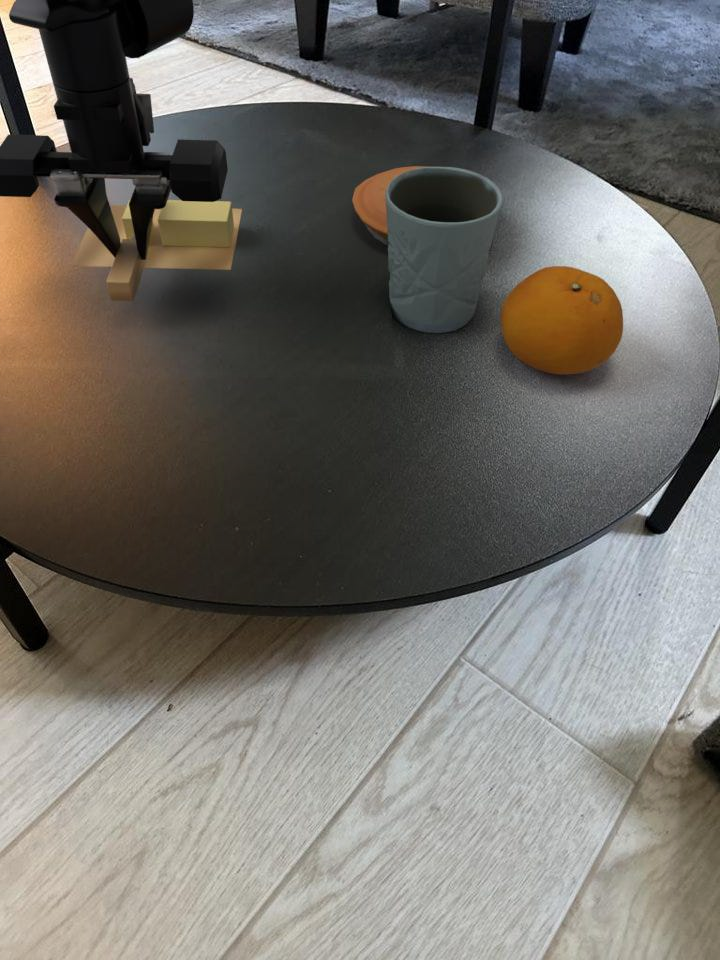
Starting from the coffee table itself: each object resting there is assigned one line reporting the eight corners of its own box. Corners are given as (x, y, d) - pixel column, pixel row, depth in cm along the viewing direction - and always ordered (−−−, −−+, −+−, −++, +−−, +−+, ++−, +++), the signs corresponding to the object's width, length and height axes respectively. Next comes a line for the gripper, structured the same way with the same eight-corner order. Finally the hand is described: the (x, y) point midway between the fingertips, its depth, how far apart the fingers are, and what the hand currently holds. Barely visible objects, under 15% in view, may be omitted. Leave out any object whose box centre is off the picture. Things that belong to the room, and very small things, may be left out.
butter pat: (127, 245, 76) (121, 218, 74) (135, 224, 79) (129, 198, 77) (147, 245, 76) (141, 219, 74) (154, 225, 79) (148, 199, 77)
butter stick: (162, 246, 76) (157, 219, 74) (168, 225, 79) (164, 199, 77) (230, 247, 77) (227, 221, 74) (234, 227, 79) (231, 201, 77)
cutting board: (73, 276, 74) (70, 265, 74) (100, 214, 82) (97, 204, 81) (232, 279, 75) (230, 269, 74) (243, 218, 83) (242, 208, 82)
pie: (447, 288, 75) (454, 245, 71) (324, 239, 80) (324, 196, 77) (514, 225, 84) (523, 183, 80) (398, 184, 89) (402, 143, 85)
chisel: (133, 301, 65) (129, 282, 64) (110, 301, 65) (105, 281, 64) (165, 204, 77) (162, 186, 75) (146, 204, 77) (142, 185, 75)
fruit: (573, 410, 64) (599, 336, 58) (474, 356, 68) (488, 282, 62) (629, 353, 69) (658, 280, 63) (533, 307, 73) (552, 234, 67)
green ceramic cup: (502, 312, 73) (526, 197, 64) (429, 353, 68) (445, 236, 59) (430, 267, 78) (443, 154, 68) (358, 302, 73) (361, 187, 64)
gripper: (224, 43, 62) (241, 215, 74) (1, 36, 62) (53, 210, 73) (207, 98, 55) (229, 278, 67) (-47, 90, 54) (20, 273, 66)
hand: (132, 257), depth 68 cm, fingers closed on chisel, 2 cm apart
